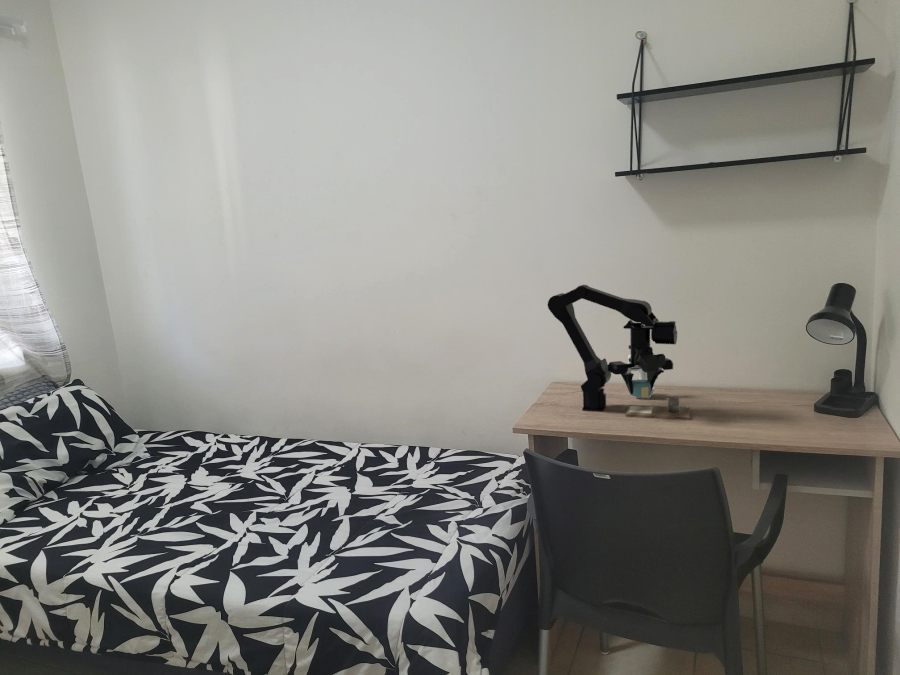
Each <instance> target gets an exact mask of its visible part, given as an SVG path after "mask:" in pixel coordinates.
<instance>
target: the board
mask: <svg viewBox="0 0 900 675" xmlns="http://www.w3.org/2000/svg"><path fill="white" fill-rule="evenodd" d="M667 400H668V402H667V403H668V404H667V406H662V405H642V404H641V405H639V404H638V405H637V404H628V407H627V410H626V413H625V417H626V418H629V417H630V418H643V419H644V418H645V419H662V420H663V419H665V420H682V421H685V420H686V421H690V418H691V417H690V416H691V415H690V407H685V406H684V407H681V406H680V398H679V397H677V396H669V397H668V399H667Z"/></svg>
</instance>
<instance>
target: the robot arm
mask: <svg viewBox="0 0 900 675" xmlns="http://www.w3.org/2000/svg"><path fill="white" fill-rule="evenodd" d="M581 299H582V300H586V301H589V302H591V303H594V304H597V305H599V306H603V307H605V308H608V309H611V310H613V311H617V312H618V313H620V314H621V315H622V316H624V317H625V318H627V319H629V320H628V321H627V323H626V324H625V325H624V326H622V327H623V329H625V330H626V329H627V330H629V329H630V332H629V333H630V344H629V345H628V349H629V350H630V354H631V358H629V362H631V363H628V362H627V363H625V362H624V361H621V360H618V361H617V360H616V361H609V363H608V361H607V359H606V358H605V357H604V358H603V359H601V358H600V357H599V356H598V355H597V354H596V352H595V350H594V348H593V346H591V345H592V344H590V342H589V340H588V337H587V336H586V335H585V332H584V330H583V329H582V327H581V324H580V323H579V322H578V320H577V317H576V313H575V306H574V303H576V302H577V301H580V300H581ZM547 308H548V311H550V313H551V314H552V315H553V317H555V319H556V320H558V322H560V323H561V324H562V326H563V327H564V329H565V331H566V333H567V335H568V336H569V339H570V340H571V342H572V344H573V345H574V348H575V349H576V352H577V353H578V354H579V357H580V359H581V361H582V362H583V365H584V372H585V375H586V378H587V380H585V381H584V382H583V383H582V384H581V385H580V389H581V392H582V397H583V399H582V400H583V401H582V402H583V403H582V405H583V407H581V408H582V411H592V412H603V411H604V410H605V408H606V407H607V393H606V392H605V388H604V387H606V384H608V382H609V381H610V380H611V378H612V375H613V374H614V375H621V377H622V379H623V381H624V383H625V385H626V388H627V390H628V393H629V394H630V395H631V394H633V382H632V380H633V377H634V375H635V374H634V373H632V371H631V369H642V370H643V371H644V372H647V380H648V381H650V385H651V391H652V388H653V386H654V384H655V383H656V381H657V379H656V378H657V377H658V378H659V376H660V375H661V374H662V373H664V372H665V371H668V370H670V371H671V370H673V369H674V362H673V360H672V359H670V358H667V357H666V355H665V354H664V353H658V354H654V352H653V351H654V349H653V347H652V346H651V340H652V342H654V343H655V344H657V345H658V344H659V345H676V344H677V341H678V330H677V325H676V321H674V320H673V321H672V320H670V321H659V319H658V317H656V315H655V314H654V313H653V309H652V306H651V305H650V303H649V302H648V301H646V300H640V299H632V298H626V297H625V298H623V297H620V296H617V295H614V294H612V293H609V292H606V291H603V290H600V289H597V288H593V287H591V286H589V285H587V284H581V285H578V286H577V287H576V288H574V289H572V290H570V291H567V292H566V293H563V292H562V293H558V294H556V295H552V296H551V297H550V298H549V299H548V301H547Z"/></svg>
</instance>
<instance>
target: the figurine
mask: <svg viewBox="0 0 900 675" xmlns="http://www.w3.org/2000/svg"><path fill="white" fill-rule="evenodd" d="M627 356H628V357H627V358H628V360H627V364H628V363H631V362H629V358H631V353H630V354H628V355H627ZM631 372H638V373H639V374H638V376H639V377H638V378H639V379H641V380H647V372H644V371H643V370H642V369H631ZM658 378H659V376H658V377H657V378H656V380H658ZM639 379H638V380H639ZM655 385H656V384H655V383H654V386H653V388H652V391H651V395H649V396H647V397H636V396H634V397H635V399H643V400H644V399H645V400H647V399H648V400H650V399H651V398H652V395H653V393H654V391H655V389H656V388H655Z"/></svg>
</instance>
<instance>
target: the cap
mask: <svg viewBox="0 0 900 675" xmlns="http://www.w3.org/2000/svg"><path fill="white" fill-rule="evenodd" d="M632 382H633V394H630V395H631V396H632V397H635V396H636V397H647V396H649V395H651V385H650V381H648V380H641V379H632ZM651 396H652V395H651ZM636 397H635V398H636Z"/></svg>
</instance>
